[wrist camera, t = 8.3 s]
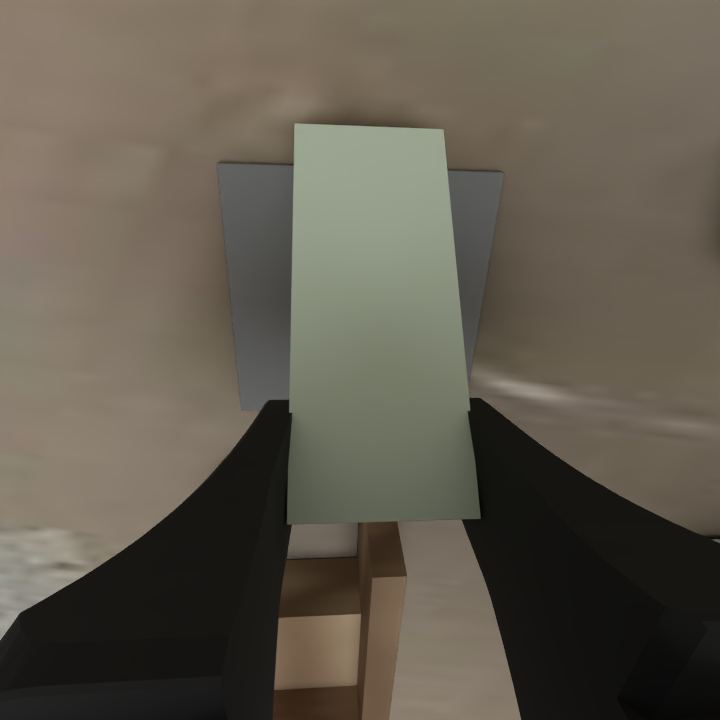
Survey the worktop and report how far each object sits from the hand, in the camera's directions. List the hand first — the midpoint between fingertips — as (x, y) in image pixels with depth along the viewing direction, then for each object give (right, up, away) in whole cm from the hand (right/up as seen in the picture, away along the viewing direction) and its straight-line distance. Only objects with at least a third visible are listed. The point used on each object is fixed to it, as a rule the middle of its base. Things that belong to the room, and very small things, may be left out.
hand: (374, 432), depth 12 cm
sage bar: (0, +3, +2) cm, 3 cm away
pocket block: (-3, -8, +12) cm, 15 cm away
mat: (0, +4, +5) cm, 7 cm away
